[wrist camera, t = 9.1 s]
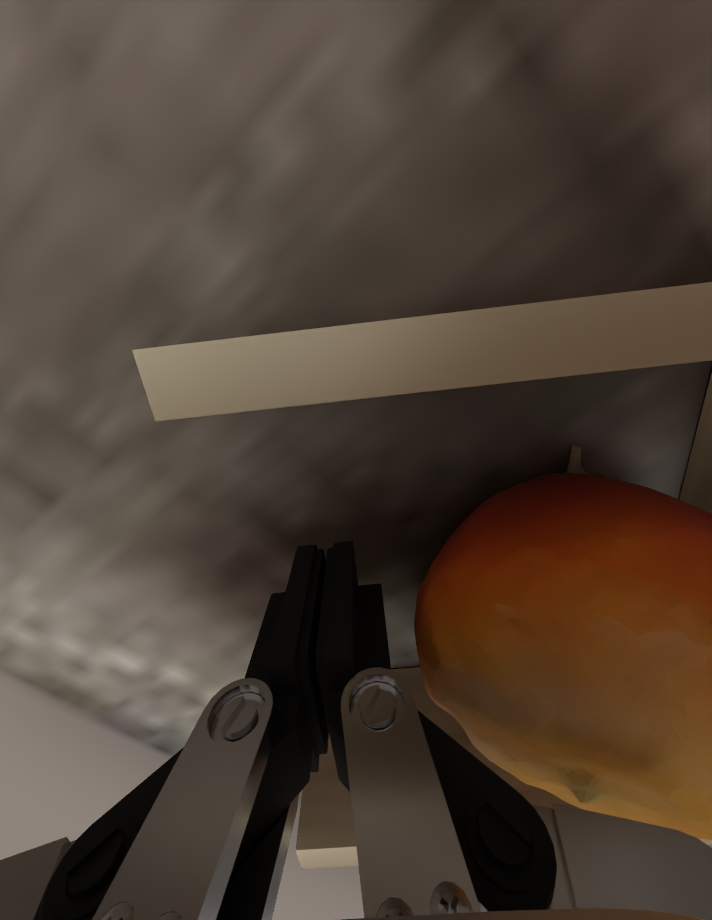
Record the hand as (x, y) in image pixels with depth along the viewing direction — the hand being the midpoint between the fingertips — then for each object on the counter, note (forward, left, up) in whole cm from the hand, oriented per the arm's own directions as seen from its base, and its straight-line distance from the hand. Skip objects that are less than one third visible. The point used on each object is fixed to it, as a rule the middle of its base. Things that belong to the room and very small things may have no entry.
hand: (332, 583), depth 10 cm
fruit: (0, +6, -2) cm, 6 cm away
